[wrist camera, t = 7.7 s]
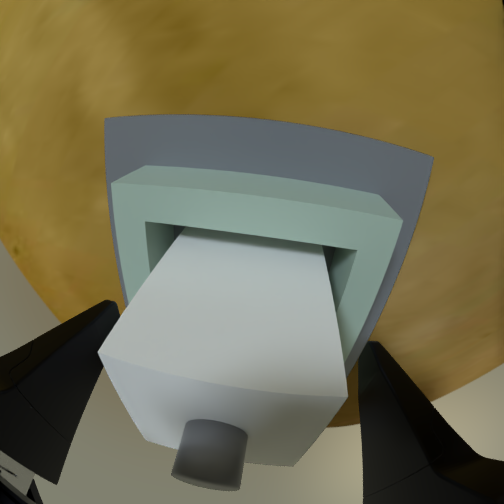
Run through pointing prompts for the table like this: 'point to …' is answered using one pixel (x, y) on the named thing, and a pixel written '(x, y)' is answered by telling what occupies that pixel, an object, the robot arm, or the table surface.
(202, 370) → the plug
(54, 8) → the table surface
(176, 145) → the charging dock
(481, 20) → the table surface
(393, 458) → the robot arm
